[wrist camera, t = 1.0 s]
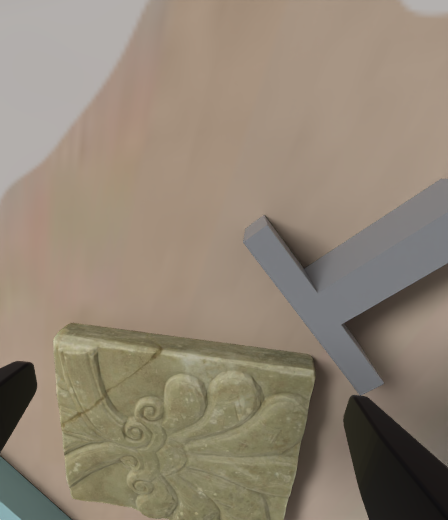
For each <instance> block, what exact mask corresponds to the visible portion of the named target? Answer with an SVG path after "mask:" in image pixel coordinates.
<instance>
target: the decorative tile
mask: <svg viewBox="0 0 448 520" xmlns="http://www.w3.org/2000/svg"><path fill="white" fill-rule="evenodd" d="M53 345H54V360H55V371H56V393H57V399H58V406H59V412H60V423H61V428H62V435H63V450H64V455H65V467H66V478H67V483H68V485H69V488H70V493H71V497H72V498H73V499H77V500H82V501H88V502H100V503H108V504H112V505H118V506H125V507H132V508H134V509H136V510H138V511H140V512H141V513H142V514H143V515H145V516H147V517H149V518H156V519H161V518H167V519H169V520H284V516H285V512H286V506H287V502H288V498H289V496H290V494H291V490H292V485H293V483H294V479H295V475H296V470H297V463H298V456H299V450H300V445H301V440H302V437H303V435H304V431H305V426H306V422H307V415H308V409H309V401H310V398H311V394H312V391H313V386H314V382H315V378H316V370H315V367H314V364H313V362H314V361H313V358H312V357H311V356H310V355H308V354H303V353H296V352H288V351H281V350H273V349H266V348H259V347H252V346H244V345H236V344H229V343H221V342H213V341H206V340H198V339H190V338H183V337H175V336H168V335H160V334H152V333H145V332H138V331H130V330H123V329H115V328H108V327H100V326H93V325H84V324H77V323H70V324H68V325H66V326H65V327H64V328H63V329H61V330H60V331H59V332H58V333H57V335H56V336H55V338H54V340H53Z"/></svg>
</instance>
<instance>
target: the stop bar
mask: <svg viewBox="0 0 448 520" xmlns="http://www.w3.org/2000/svg"><path fill="white" fill-rule="evenodd" d="M0 519H1V520H71V519H70V518H69V517H68V516H67V515H66V514H64V513H63V512H62V511H61V510H60V509H59V508H58V507H57V506H56V505H54V504H53V503H52V502H51V501H50V500H49V499H48V498H47V497H45V496H44V495H43V494H42V493H41V492H40V491H39V490H38V489H36V488H35V487H34V486H33V485H32V484H31V483H30V482H29V481H27V480H26V479H25V478H24V477H23V476H22V475H21V474H20V473H19V472H17V471H16V470H15V469H14V468H13V467H12V466H11V465H10V464H8V463H7V462H6V461H5V460H4V459H3V458H2V457H1V456H0Z"/></svg>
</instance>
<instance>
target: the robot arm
mask: <svg viewBox="0 0 448 520" xmlns="http://www.w3.org/2000/svg"><path fill="white" fill-rule="evenodd" d="M36 389H37V380H36V375H35V369H34V365H33V364H32V363H31V362H24V361H15V362H13V363H11V364H9V365H6V366H4V367H2V368H0V452H1V451H2V449H3V447H4V446H5V444H6V442H7V441H8V439H9V437H10V436H11V434H12V432H13V431H14V429H15V427H16V425H17V424H18V422H19V420H20V419H21V417H22V415H23V413H24V412H25V410H26V408H27V407H28V405H29V403H30V401H31V400H32V398H33V396H34V395H35V392H36ZM343 422H344V428H345V432H346V437H347V441H348V445H349V449H350V454H351V458H352V462H353V467H354V471H355V475H356V479H357V483H358V487H359V490H360V493H361V497H362V500H363V503H364V506H365V509H366V512H367V515H368V518H369V520H448V467H446V466H445V465H444V464H443V463H442V462H441V461H440V460H438V459H437V458H436V457H435V456H434V455H433V454H432V453H430V452H429V451H428V450H427V449H426V448H425V447H424V446H423V445H421V444H420V443H419V442H418V441H417V440H416V439H415V438H413V437H412V436H411V435H410V434H409V433H408V432H407V431H405V430H404V429H403V428H402V427H401V426H400V425H399V424H398V423H396V422H395V421H394V420H393V419H392V418H391V417H390V416H388V415H387V414H386V413H385V412H384V411H383V410H382V409H380V408H379V407H378V406H377V405H376V404H375V403H374V402H373V401H371V400H370V399H369V398H368V397H365V396H358V395H352V396H351V397H350V398H349V401H348V404H347V408H346V411H345V414H344V419H343Z"/></svg>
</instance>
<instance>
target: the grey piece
mask: <svg viewBox="0 0 448 520" xmlns="http://www.w3.org/2000/svg"><path fill="white" fill-rule="evenodd" d="M243 243H244V244H245V246H246V247H247V248H248V249H249V251H250V252H251V253H252V255H253V256H254V257H255V259H256V260H257V261H258V263H259V264H260V265H261V266H262V268H263V269H264V270H265V272H266V273H267V274H268V276H269V277H270V278H271V280H272V281H273V282H274V283H275V285H276V286H277V287H278V289H279V290H280V291H281V293H282V294H283V295H284V297H285V298H286V299H287V300H288V302H289V303H290V304H291V306H292V307H293V308H294V310H295V311H296V312H297V314H298V315H299V316H300V317H301V319H302V320H303V321H304V323H305V324H306V325H307V327H308V328H309V329H310V331H311V332H312V333H313V334H314V336H315V337H316V338H317V340H318V341H319V342H320V344H321V345H322V346H323V348H324V349H325V350H326V351H327V353H328V354H329V355H330V357H331V358H332V359H333V361H334V362H335V363H336V365H337V366H338V367H339V368H340V370H341V371H342V372H343V374H344V375H345V376H346V378H347V379H348V380H349V382H350V383H351V384H352V386H353V387H354V388H355V389H356V391H357V392H358V393H359V395H360V396H361V395H363V394H365V393H367V392H369V391H371V390H373V389H375V388H377V387H379V386H381V385H383V384H384V382H383V381H382V379H381V378H380V376H379V375H378V373H377V371H376V370H375V368H374V367H373V365H372V364H371V362H370V360H369V359H368V357H367V356H366V354H365V353H364V351H363V349H362V348H361V346H360V345H359V343H358V342H357V340H356V339H355V338H354V336H353V335H352V334H351V332H350V331H349V330H348V328H347V327H346V325H345V324H344V323H345V322H347V321H348V320H350V319H352V318H353V317H355V316H357V315H359V314H360V313H362V312H364V311H366V310H367V309H369V308H371V307H373V306H374V305H376V304H378V303H379V302H381V301H383V300H385V299H386V298H388V297H390V296H392V295H393V294H395V293H397V292H399V291H400V290H402V289H404V288H406V287H407V286H409V285H411V284H412V283H414V282H416V281H418V280H419V279H421V278H423V277H425V276H426V275H428V274H430V273H432V272H433V271H435V270H437V269H438V268H440V267H442V266H444V265H445V264H447V263H448V179H440V180H439V181H437V182H435V183H434V184H432V185H431V186H429V187H428V188H426V189H425V190H423V191H422V192H420V193H419V194H417V195H416V196H414V197H413V198H411V199H410V200H408V201H406V202H405V203H403V204H402V205H400V206H399V207H397V208H396V209H394V210H393V211H391V212H390V213H388V214H387V215H385V216H384V217H382V218H381V219H379V220H377V221H376V222H374V223H373V224H371V225H370V226H368V227H367V228H365V229H364V230H362V231H361V232H359V233H358V234H356V235H355V236H353V237H352V238H350V239H348V240H347V241H345V242H344V243H342V244H341V245H339V246H338V247H336V248H335V249H333V250H332V251H330V252H329V253H327V254H326V255H324V256H323V257H321V258H319V259H318V260H316V261H315V262H313V263H312V264H310V265H309V266H307V267H306V268H303V267H302V266H301V264H300V263H299V261H298V260H297V259H296V257H295V256H294V255H293V253H292V252H291V251H290V249H289V248H288V246H287V245H286V244H285V242H284V241H283V240H282V238H281V237H280V236H279V234H278V233H277V231H276V230H275V229H274V227H273V226H272V225H271V223H270V222H269V221H268V219H267V218H266V217H265V215H263V216H262V217H260V218H259V219H258V220H256V221H255V222H254V223H252V224H251V225H250V226H248V227H247V228H246V229H245V234H244V240H243Z"/></svg>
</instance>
